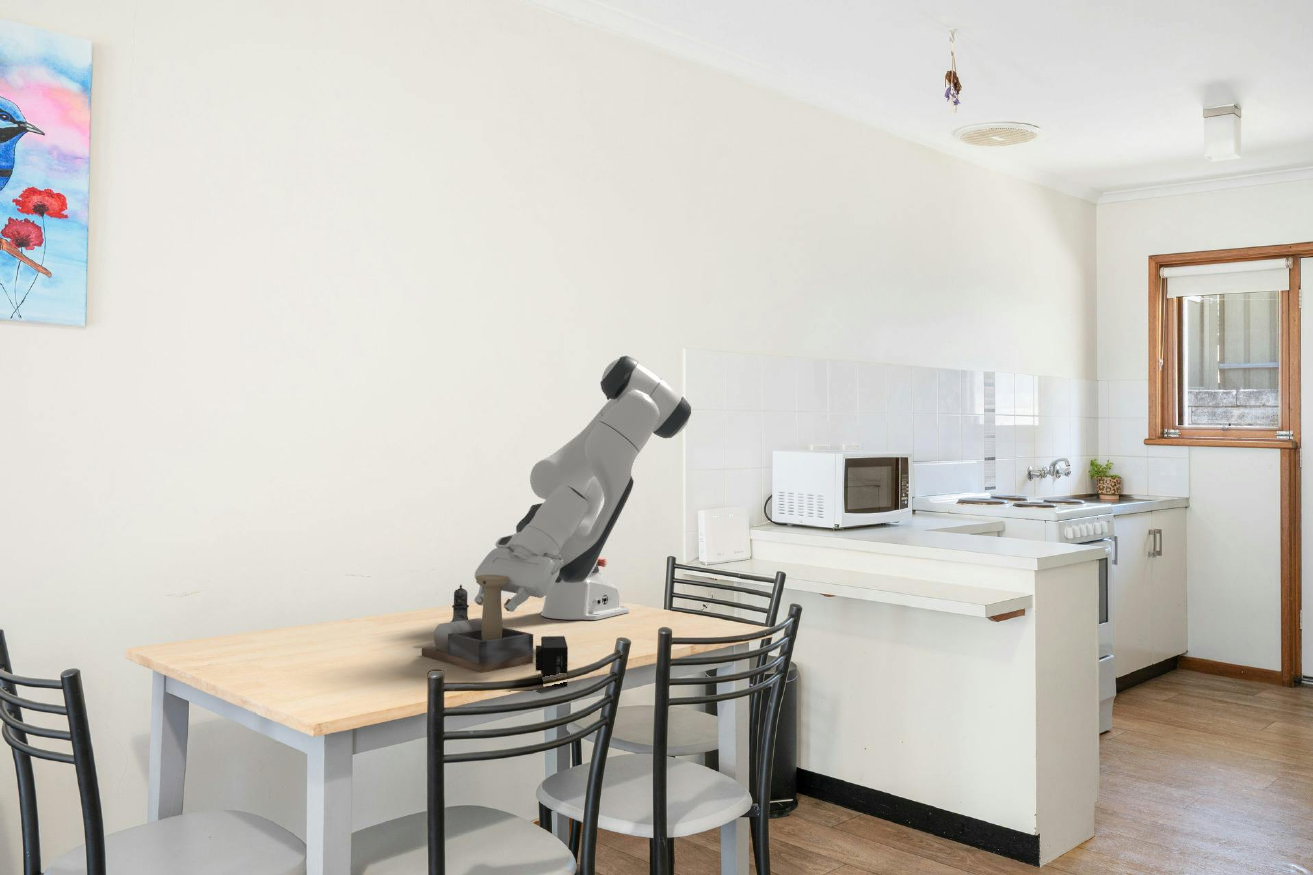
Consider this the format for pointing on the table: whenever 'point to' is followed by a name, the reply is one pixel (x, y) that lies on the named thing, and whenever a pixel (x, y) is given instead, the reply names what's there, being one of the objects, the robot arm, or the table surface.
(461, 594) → the dark grey chess piece
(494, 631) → the handle
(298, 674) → the table surface
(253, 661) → the table surface
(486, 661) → the base
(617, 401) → the robot arm
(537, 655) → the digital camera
